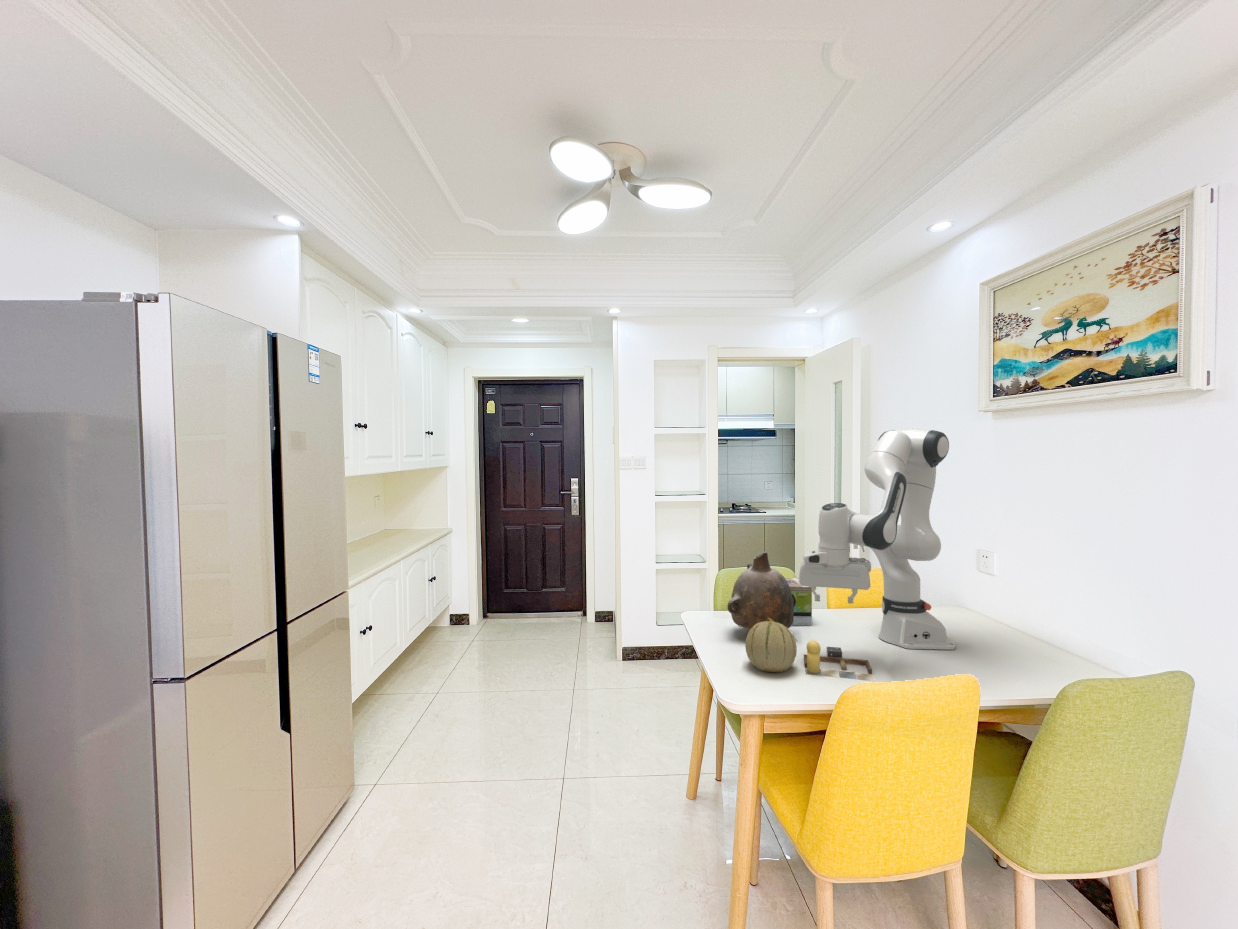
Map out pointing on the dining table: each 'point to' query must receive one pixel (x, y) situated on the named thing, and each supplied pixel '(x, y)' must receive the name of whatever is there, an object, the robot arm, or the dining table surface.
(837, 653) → the die
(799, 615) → the tea box
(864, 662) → the board
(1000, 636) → the dining table surface
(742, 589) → the jug
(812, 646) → the pawn
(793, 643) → the cantaloupe
